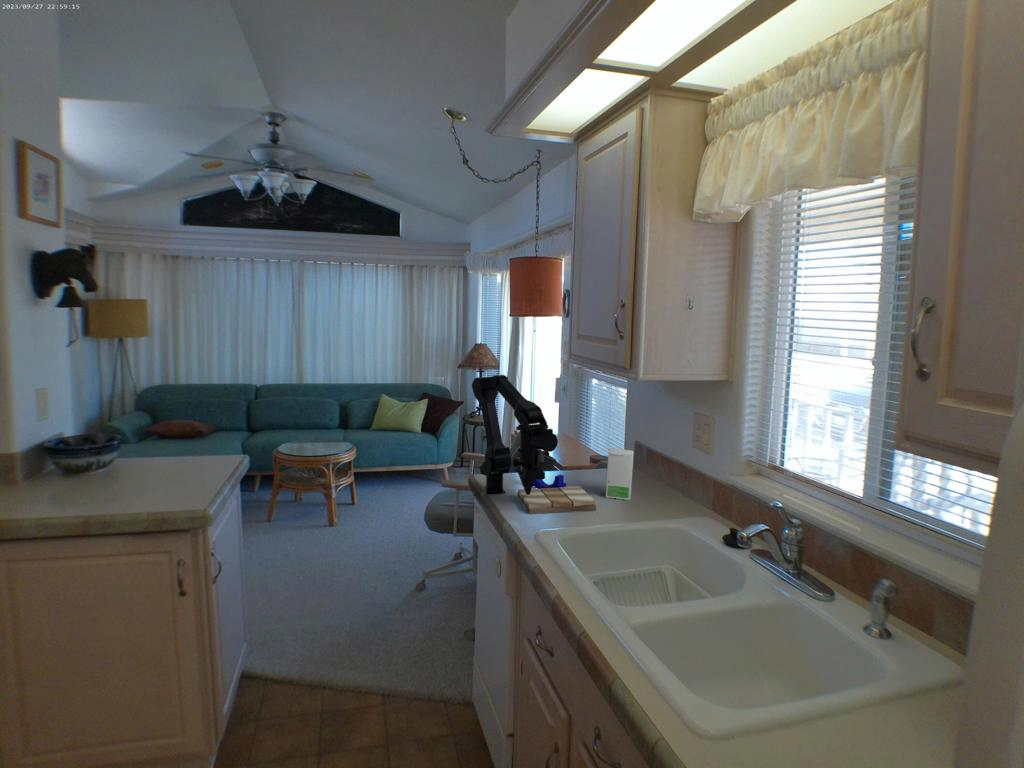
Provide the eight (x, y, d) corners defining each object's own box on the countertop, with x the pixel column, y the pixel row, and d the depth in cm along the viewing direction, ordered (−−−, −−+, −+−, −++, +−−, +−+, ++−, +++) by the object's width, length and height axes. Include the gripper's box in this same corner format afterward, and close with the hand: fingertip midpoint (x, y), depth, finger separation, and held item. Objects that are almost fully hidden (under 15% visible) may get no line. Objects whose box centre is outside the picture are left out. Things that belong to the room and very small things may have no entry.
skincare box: (605, 498, 199) (606, 452, 197) (606, 492, 205) (608, 447, 204) (631, 500, 197) (632, 453, 195) (632, 494, 203) (633, 449, 202)
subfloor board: (517, 496, 199) (517, 492, 199) (578, 493, 204) (578, 489, 203) (529, 514, 182) (529, 509, 182) (596, 510, 186) (596, 506, 186)
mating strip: (540, 492, 200) (540, 488, 200) (557, 491, 201) (557, 487, 201) (553, 507, 184) (553, 503, 184) (571, 506, 185) (572, 502, 185)
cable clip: (565, 491, 207) (566, 474, 206) (558, 494, 203) (558, 477, 203) (538, 484, 214) (538, 468, 214) (530, 487, 211) (530, 470, 210)
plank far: (559, 491, 201) (559, 487, 201) (579, 489, 202) (579, 486, 202) (573, 505, 186) (573, 502, 185) (595, 504, 187) (595, 500, 187)
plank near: (518, 493, 198) (518, 489, 198) (538, 491, 200) (538, 488, 200) (529, 508, 183) (529, 504, 183) (551, 507, 184) (551, 503, 184)
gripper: (562, 451, 181) (560, 502, 183) (546, 439, 199) (545, 485, 201) (525, 452, 179) (524, 503, 181) (513, 440, 197) (512, 486, 199)
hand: (527, 494), depth 191 cm, fingers closed
